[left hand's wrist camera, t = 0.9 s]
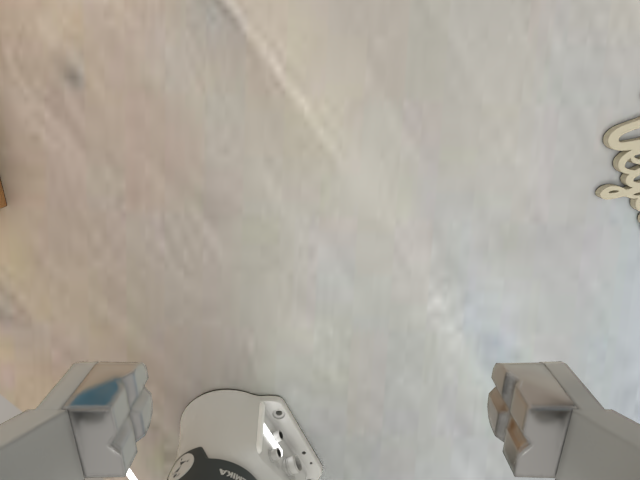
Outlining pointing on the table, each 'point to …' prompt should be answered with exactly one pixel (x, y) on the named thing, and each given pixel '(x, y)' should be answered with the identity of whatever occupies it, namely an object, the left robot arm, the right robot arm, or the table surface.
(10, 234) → the table surface
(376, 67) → the table surface
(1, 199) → the bar
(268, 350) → the table surface
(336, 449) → the table surface
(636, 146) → the decorative sign
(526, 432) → the left robot arm
